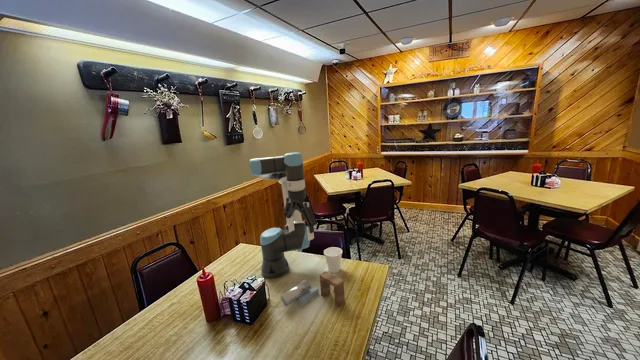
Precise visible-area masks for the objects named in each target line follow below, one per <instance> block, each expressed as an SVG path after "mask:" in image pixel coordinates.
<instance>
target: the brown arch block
mask: <svg viewBox="0 0 640 360" xmlns="http://www.w3.org/2000/svg"><path fill="white" fill-rule="evenodd" d="M344 282H345V281H344V280H343V279H342V278H340V277H338V276H336V275H334V273H333V274H332V273H331V272H330V271H327V270H325V271H324V272H322V273H320V274H319V283H320V284H319V287H320V296H321V297H322V298H324V299H325V298H327V297H328V296H330V295H332V293H331V286H332V287H333V294H334V295H333V296H334V305H335V306H336V307H338V308H340V307H341V306H343V305H344V304H345V303H346V299H345V284H344Z"/></svg>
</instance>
